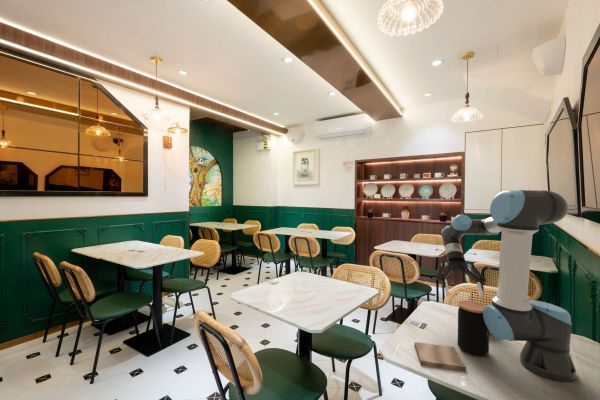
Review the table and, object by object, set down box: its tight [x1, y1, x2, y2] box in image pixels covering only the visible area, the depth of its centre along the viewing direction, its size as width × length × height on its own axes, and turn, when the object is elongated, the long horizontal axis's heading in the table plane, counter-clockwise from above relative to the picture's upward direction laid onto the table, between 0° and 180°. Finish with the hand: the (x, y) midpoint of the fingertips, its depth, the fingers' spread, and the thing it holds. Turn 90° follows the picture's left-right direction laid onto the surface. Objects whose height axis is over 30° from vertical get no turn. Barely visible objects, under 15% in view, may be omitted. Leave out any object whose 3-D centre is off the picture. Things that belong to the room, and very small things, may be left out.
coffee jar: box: [457, 300, 490, 357], centre depth 110 cm, size 11×11×18 cm
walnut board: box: [414, 341, 467, 372], centre depth 105 cm, size 15×13×2 cm
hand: (464, 295), depth 120 cm, fingers open, 13 cm apart
